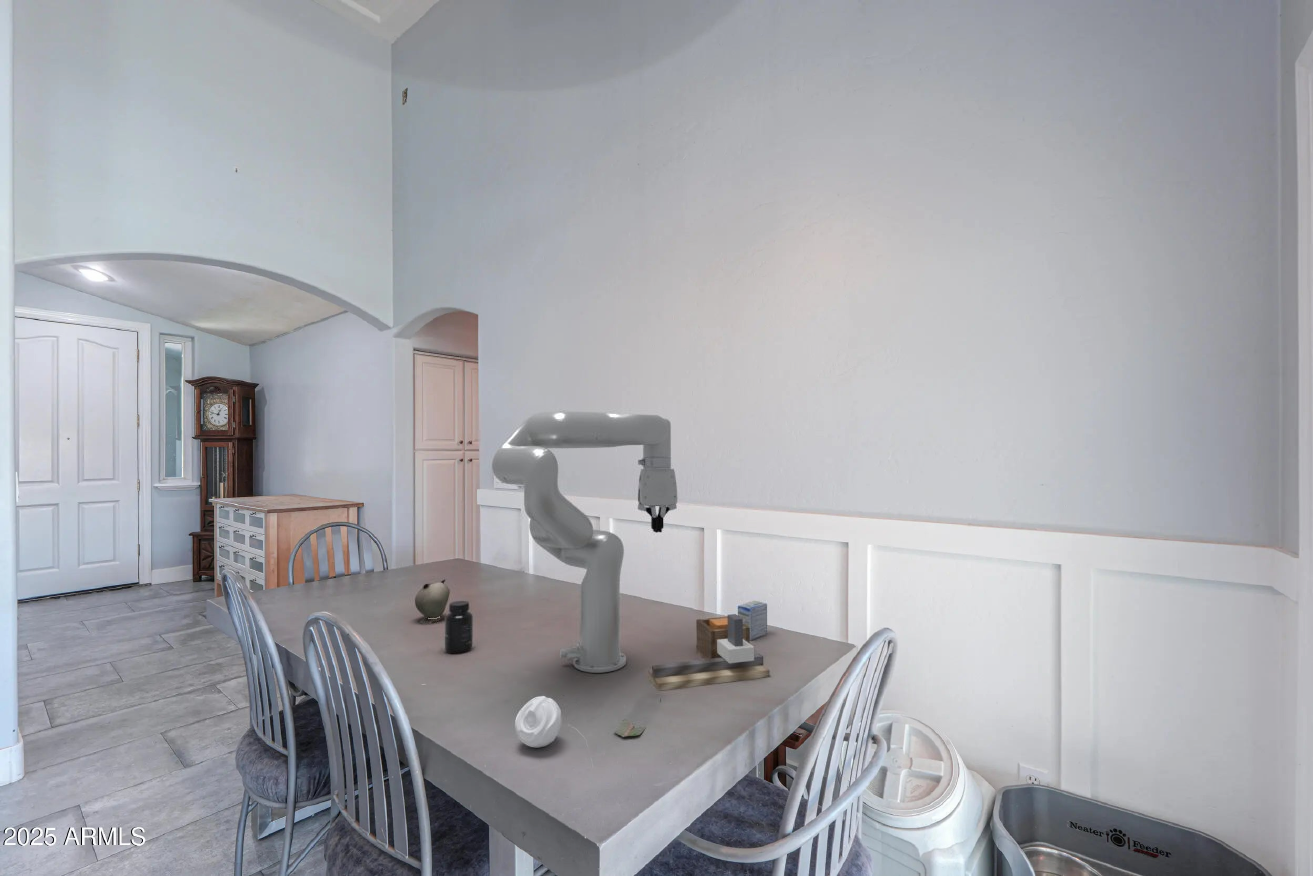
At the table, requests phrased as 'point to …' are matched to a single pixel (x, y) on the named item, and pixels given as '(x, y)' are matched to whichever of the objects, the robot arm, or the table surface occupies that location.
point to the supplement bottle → (458, 628)
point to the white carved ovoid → (538, 722)
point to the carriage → (735, 642)
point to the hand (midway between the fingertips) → (657, 531)
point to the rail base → (705, 672)
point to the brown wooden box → (713, 638)
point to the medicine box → (754, 617)
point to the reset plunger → (718, 623)
